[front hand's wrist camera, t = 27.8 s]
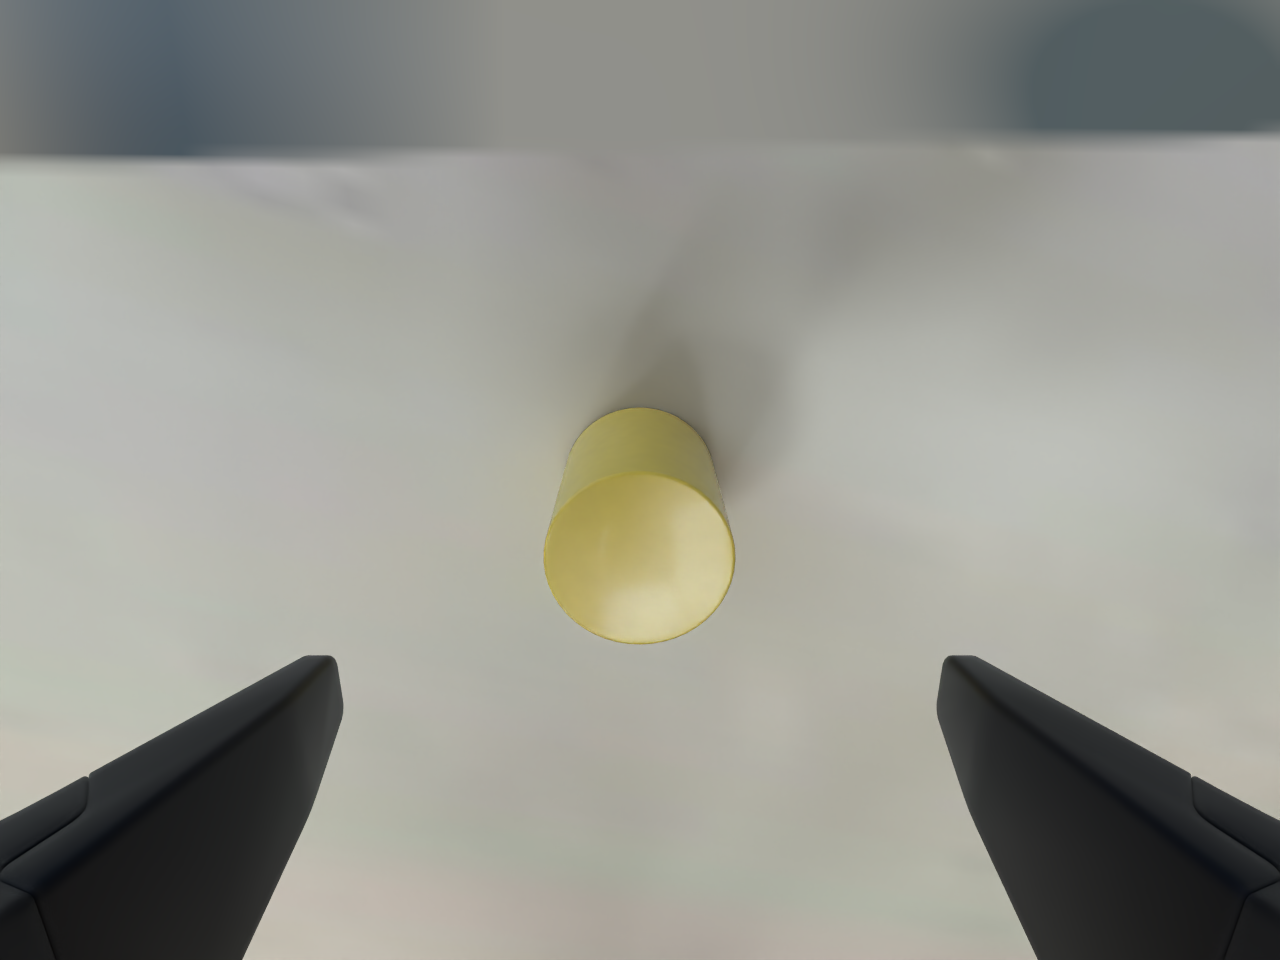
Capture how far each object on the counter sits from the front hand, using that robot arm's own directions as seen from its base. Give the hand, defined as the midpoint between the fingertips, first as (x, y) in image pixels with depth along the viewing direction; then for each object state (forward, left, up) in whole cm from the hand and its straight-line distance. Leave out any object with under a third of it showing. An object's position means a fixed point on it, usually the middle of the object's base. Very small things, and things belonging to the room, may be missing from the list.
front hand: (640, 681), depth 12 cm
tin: (0, 0, -9) cm, 9 cm away
